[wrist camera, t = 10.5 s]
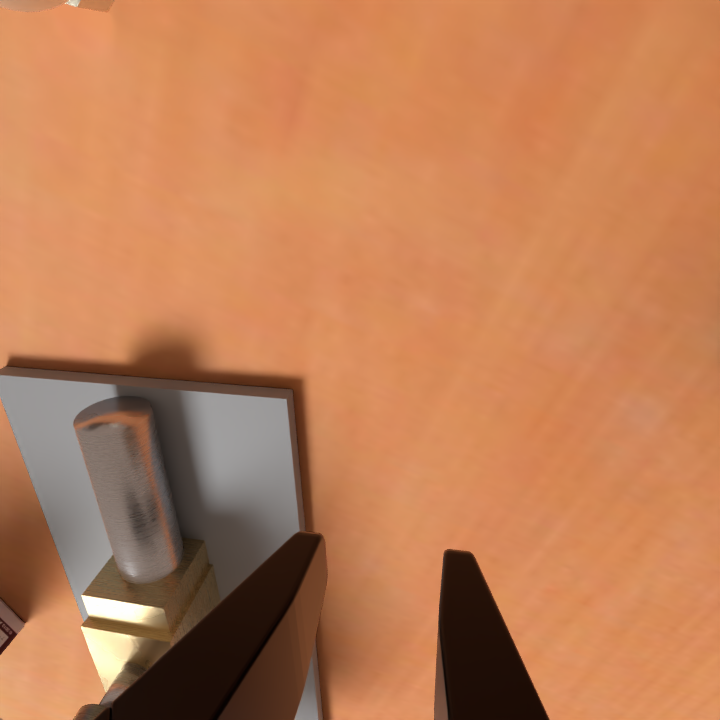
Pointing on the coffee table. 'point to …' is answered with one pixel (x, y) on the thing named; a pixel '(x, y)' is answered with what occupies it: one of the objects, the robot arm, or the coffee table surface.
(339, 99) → the coffee table surface
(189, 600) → the valve body
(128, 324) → the coffee table surface
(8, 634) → the supplement box
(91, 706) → the valve lever
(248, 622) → the robot arm
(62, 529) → the mounting board
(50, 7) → the valve
